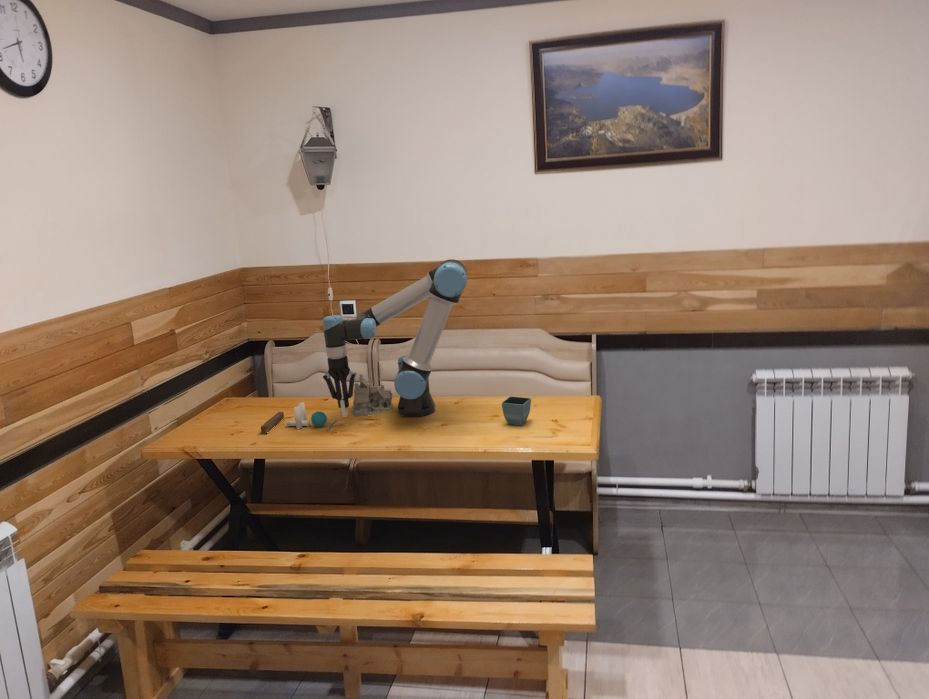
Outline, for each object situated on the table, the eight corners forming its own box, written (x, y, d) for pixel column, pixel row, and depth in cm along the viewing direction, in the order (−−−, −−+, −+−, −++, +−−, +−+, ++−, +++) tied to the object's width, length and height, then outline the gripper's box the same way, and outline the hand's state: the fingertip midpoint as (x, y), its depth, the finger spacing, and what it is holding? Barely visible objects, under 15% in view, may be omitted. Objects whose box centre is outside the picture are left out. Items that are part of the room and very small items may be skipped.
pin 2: (307, 422, 307) (305, 402, 305) (305, 425, 304) (303, 404, 302) (302, 423, 307) (299, 402, 305) (299, 425, 305) (297, 404, 303)
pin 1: (303, 427, 302) (300, 406, 300) (301, 429, 300) (298, 408, 298) (297, 427, 302) (295, 406, 300) (295, 429, 300) (292, 408, 298)
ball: (310, 417, 305) (323, 426, 305) (306, 422, 299) (318, 432, 299) (319, 406, 303) (331, 415, 303) (314, 411, 297) (327, 420, 298)
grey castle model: (346, 416, 312) (345, 379, 309) (362, 404, 328) (361, 370, 324) (383, 419, 308) (382, 382, 305) (397, 408, 324) (396, 373, 321)
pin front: (309, 419, 303) (288, 419, 305) (307, 421, 301) (286, 422, 302) (309, 425, 304) (289, 425, 305) (307, 427, 302) (286, 427, 303)
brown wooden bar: (284, 418, 314) (283, 411, 313) (266, 434, 296) (265, 426, 296) (279, 418, 314) (278, 411, 313) (261, 434, 297) (260, 426, 296)
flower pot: (532, 420, 294) (531, 397, 291) (524, 428, 286) (523, 404, 284) (510, 418, 297) (509, 396, 295) (502, 425, 290) (501, 402, 287)
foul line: (338, 420, 307) (338, 420, 307) (328, 431, 295) (328, 430, 295) (335, 420, 307) (335, 420, 307) (325, 431, 296) (325, 430, 296)
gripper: (356, 353, 296) (364, 411, 302) (324, 354, 299) (331, 413, 304) (350, 358, 289) (358, 418, 295) (317, 359, 291) (325, 419, 297)
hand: (345, 415), depth 300 cm, fingers closed
